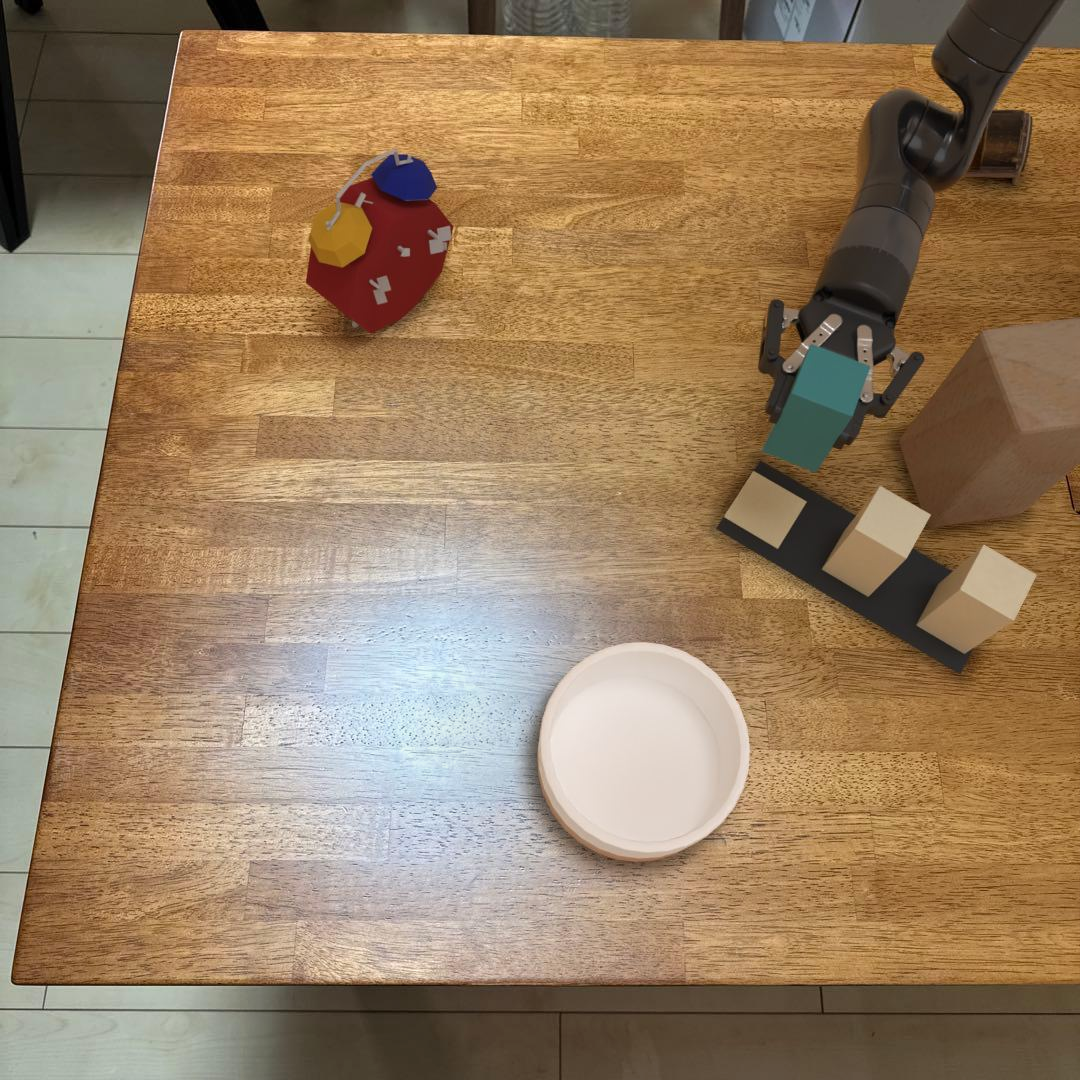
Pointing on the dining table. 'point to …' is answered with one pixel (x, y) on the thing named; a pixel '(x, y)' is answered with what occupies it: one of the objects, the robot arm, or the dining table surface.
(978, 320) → the dining table surface
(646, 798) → the bowl
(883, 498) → the cream block
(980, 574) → the cream block
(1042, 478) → the wooden block
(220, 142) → the dining table surface
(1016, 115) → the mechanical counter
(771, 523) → the mat
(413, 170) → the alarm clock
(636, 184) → the dining table surface
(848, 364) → the teal block
